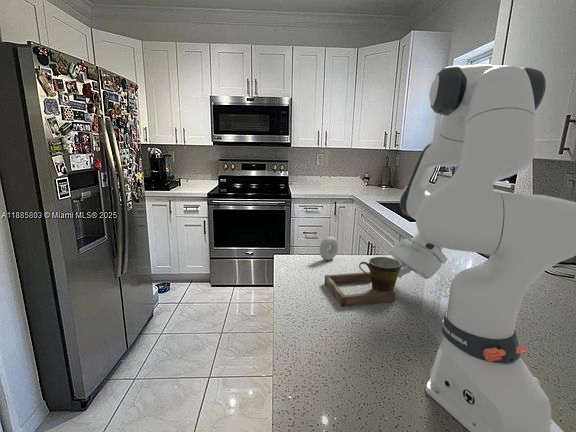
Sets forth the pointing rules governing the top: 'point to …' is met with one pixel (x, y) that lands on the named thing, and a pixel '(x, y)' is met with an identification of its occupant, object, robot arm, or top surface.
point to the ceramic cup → (382, 273)
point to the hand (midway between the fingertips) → (395, 275)
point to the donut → (324, 248)
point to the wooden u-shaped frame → (356, 298)
